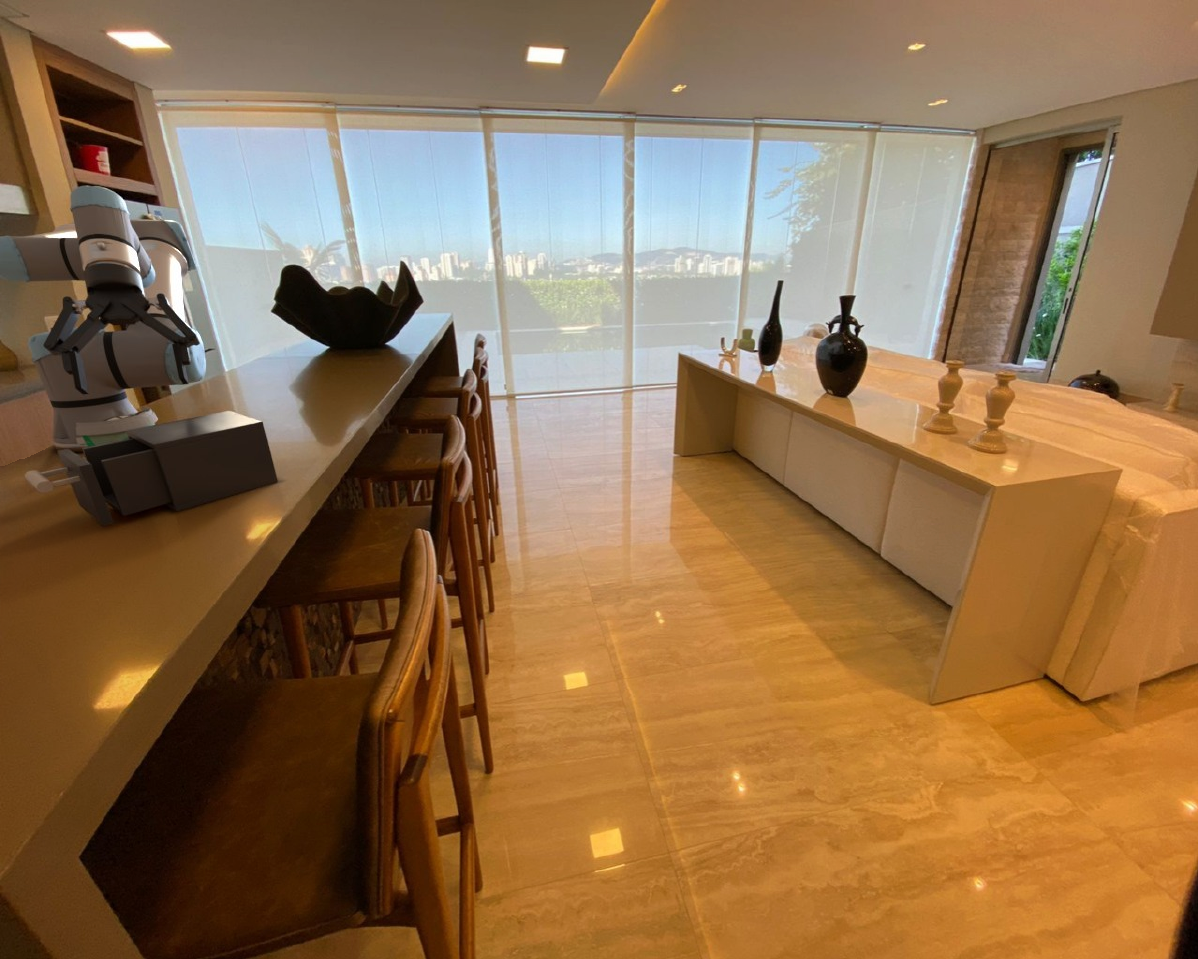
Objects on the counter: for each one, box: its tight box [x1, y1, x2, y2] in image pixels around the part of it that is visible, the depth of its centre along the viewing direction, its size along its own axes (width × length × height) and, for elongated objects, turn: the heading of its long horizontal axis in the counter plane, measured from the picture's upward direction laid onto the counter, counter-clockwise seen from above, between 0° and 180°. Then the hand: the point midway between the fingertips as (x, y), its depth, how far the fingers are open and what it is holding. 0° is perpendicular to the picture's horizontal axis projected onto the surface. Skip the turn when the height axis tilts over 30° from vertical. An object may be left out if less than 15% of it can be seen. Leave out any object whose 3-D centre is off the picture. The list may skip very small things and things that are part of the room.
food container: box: [76, 406, 159, 447], centre depth 95 cm, size 12×6×10 cm, turn 168°
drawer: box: [24, 438, 172, 527], centre depth 78 cm, size 18×11×9 cm, turn 144°
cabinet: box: [126, 410, 279, 513], centre depth 86 cm, size 15×13×11 cm
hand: (134, 386), depth 89 cm, fingers open, 13 cm apart
